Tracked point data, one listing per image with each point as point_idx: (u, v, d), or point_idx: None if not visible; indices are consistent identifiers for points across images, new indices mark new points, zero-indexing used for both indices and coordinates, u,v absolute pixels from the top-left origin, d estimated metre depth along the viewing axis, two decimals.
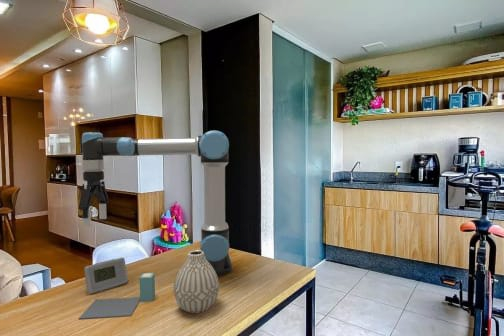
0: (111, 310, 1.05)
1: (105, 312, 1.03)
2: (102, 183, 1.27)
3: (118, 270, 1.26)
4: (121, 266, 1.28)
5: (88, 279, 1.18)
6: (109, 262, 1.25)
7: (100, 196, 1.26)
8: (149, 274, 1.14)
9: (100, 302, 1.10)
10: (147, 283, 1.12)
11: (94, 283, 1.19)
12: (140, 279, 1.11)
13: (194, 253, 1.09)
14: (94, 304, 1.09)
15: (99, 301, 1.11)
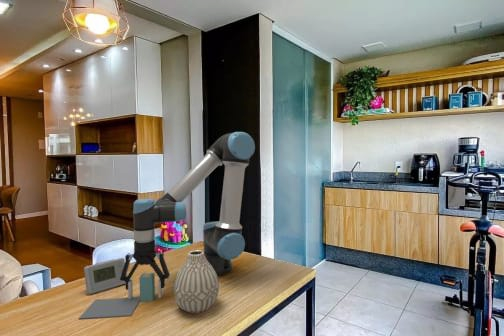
0: (111, 310, 1.05)
1: (105, 312, 1.03)
2: None
3: (118, 270, 1.26)
4: (121, 266, 1.27)
5: (88, 279, 1.18)
6: (109, 262, 1.25)
7: None
8: (149, 274, 1.14)
9: (100, 302, 1.10)
10: (147, 283, 1.12)
11: (94, 283, 1.19)
12: (140, 279, 1.11)
13: (194, 253, 1.09)
14: (94, 304, 1.09)
15: (99, 301, 1.11)
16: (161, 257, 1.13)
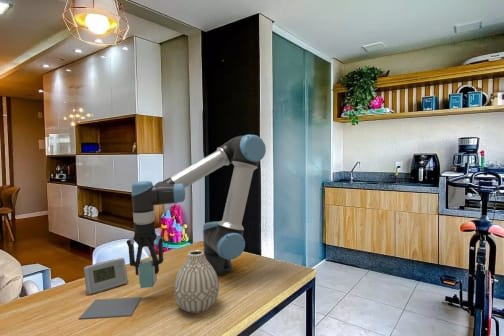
0: (111, 310, 1.05)
1: (105, 312, 1.03)
2: None
3: (118, 270, 1.26)
4: (121, 266, 1.27)
5: (88, 279, 1.18)
6: (109, 262, 1.25)
7: None
8: (149, 261, 1.14)
9: (100, 302, 1.10)
10: (147, 269, 1.12)
11: (93, 283, 1.19)
12: (140, 265, 1.11)
13: (194, 253, 1.09)
14: (94, 304, 1.09)
15: (99, 301, 1.11)
16: (161, 241, 1.13)
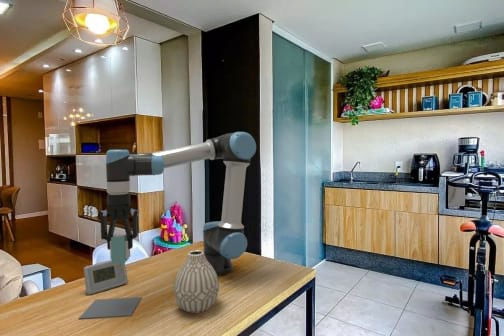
0: (111, 310, 1.05)
1: (105, 312, 1.03)
2: (134, 212, 1.06)
3: (118, 271, 1.26)
4: (121, 267, 1.27)
5: (87, 279, 1.18)
6: (109, 262, 1.25)
7: None
8: (122, 235, 1.07)
9: (100, 302, 1.10)
10: (119, 243, 1.04)
11: (93, 283, 1.19)
12: (112, 239, 1.04)
13: (194, 253, 1.09)
14: (94, 304, 1.09)
15: (99, 301, 1.11)
16: (135, 214, 1.05)
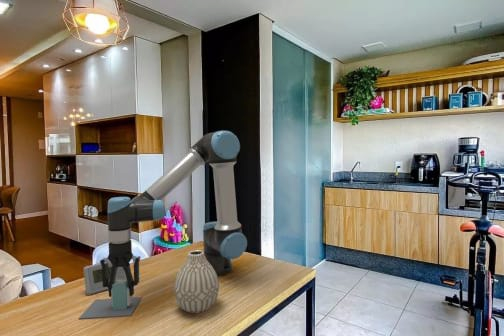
0: (111, 310, 1.05)
1: (105, 312, 1.03)
2: None
3: (117, 271, 1.25)
4: (120, 267, 1.27)
5: (87, 279, 1.18)
6: (108, 263, 1.24)
7: None
8: (123, 281, 1.07)
9: (100, 302, 1.10)
10: (121, 290, 1.05)
11: (93, 284, 1.18)
12: (113, 286, 1.04)
13: (194, 253, 1.09)
14: (94, 304, 1.09)
15: (99, 301, 1.11)
16: (136, 262, 1.06)
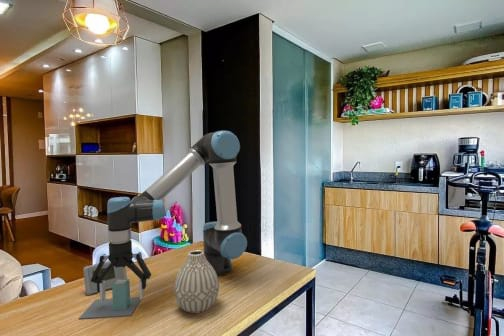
0: (111, 310, 1.05)
1: (105, 312, 1.03)
2: None
3: (117, 271, 1.25)
4: (120, 267, 1.27)
5: (87, 279, 1.18)
6: (108, 263, 1.24)
7: None
8: (123, 281, 1.07)
9: (100, 302, 1.10)
10: (121, 290, 1.05)
11: (93, 284, 1.18)
12: (113, 286, 1.04)
13: (194, 253, 1.09)
14: (94, 304, 1.09)
15: (99, 301, 1.11)
16: (138, 257, 1.06)
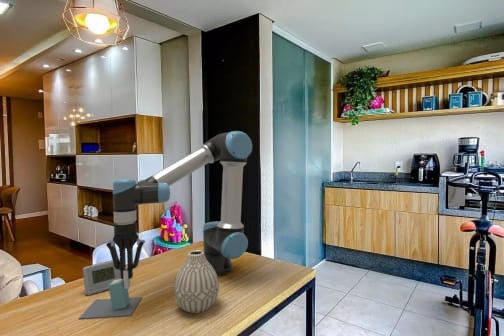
0: (111, 310, 1.05)
1: (105, 312, 1.03)
2: (140, 243, 1.06)
3: (117, 271, 1.25)
4: None
5: (86, 279, 1.17)
6: (108, 263, 1.24)
7: None
8: (119, 280, 1.07)
9: (100, 302, 1.10)
10: (118, 289, 1.05)
11: (92, 284, 1.18)
12: (109, 286, 1.04)
13: (194, 253, 1.09)
14: (94, 304, 1.09)
15: (99, 301, 1.11)
16: (140, 245, 1.06)
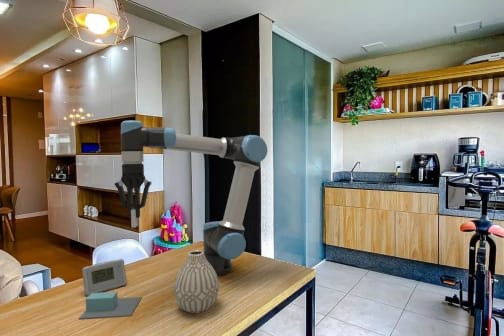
0: (111, 310, 1.05)
1: (105, 312, 1.03)
2: (147, 183, 1.10)
3: (117, 272, 1.24)
4: (120, 268, 1.26)
5: (86, 280, 1.17)
6: (107, 263, 1.24)
7: None
8: None
9: None
10: (92, 303, 1.04)
11: (91, 284, 1.18)
12: (87, 310, 1.04)
13: (194, 253, 1.09)
14: None
15: None
16: (147, 185, 1.09)
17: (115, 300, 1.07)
